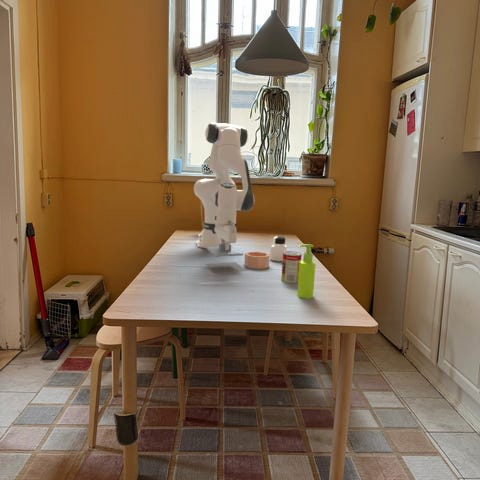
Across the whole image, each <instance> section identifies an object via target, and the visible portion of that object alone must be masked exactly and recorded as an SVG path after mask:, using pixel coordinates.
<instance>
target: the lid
mask: <svg viewBox="0 0 480 480" xmlns="http://www.w3.org/2000/svg"><path fill="white" fill-rule="evenodd" d="M224 246H225V244H219V247H217V248H206V249H207V251H208V252H209V253H211V254H212V256H213V257H239V256H241V257H242V256H244V253H243V252H241V251H240V250H238V249H237V248H236V247H234V246H232V243H230V245H229V250H225V249H224Z"/></svg>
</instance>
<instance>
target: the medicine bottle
mask: <svg viewBox="0 0 480 480" xmlns="http://www.w3.org/2000/svg"><path fill="white" fill-rule="evenodd" d="M285 251H288V246H287V245H286V237H284V236H282V235H281V236H280V235H279V236H274V237H273V244H272V245H271V246H270V252H269V253H270V254H269V255H270V259H269V261H276V262H283V252H285Z"/></svg>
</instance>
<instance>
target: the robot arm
mask: <svg viewBox="0 0 480 480" xmlns="http://www.w3.org/2000/svg"><path fill="white" fill-rule="evenodd" d="M204 134H205V135H204V136H205V139H206V141H207V142H208V143H210V144H212V146H211V152H210V156H209V164H208V167H209V170H210V171H211V172H213V174H215V178H202V179H198V180H196V182H195V183H194V185H193V192H194V194H195V196H196V197H197V198H198V199H199V200H200V202H201V201H202V203H203V205H204V210H205V222H204V225H203V228H204V229H203V230H201V232H200V233H199V234H197V239H198V240H196V241H195V243H196V244H195V245H197V248H202V249H203V248H204V249H208V248H217V247H219V244H225V246H224V249H225V250H229V245H230V244H236V243H237V235H238V234H237V227H236V225H235V224H236V223H237V211H241V212H246V213H247V212H249V211H252V209H253V208H254V206H255V196H254V191H253V189H252V187H253V186H252V182H251V175H250V169H249V165H248V162H247V160H246V159H245V158H244V157H243V155H242V153H241V148H242V147H244V146H246V144H247V142H248V140H249V133H248V130H247V128H246V127H244V126H241V125H240V126H238V125H235V124H230V123H218V122H210V123H208V125H207V127H206V129H205V133H204ZM230 170H232V171H234V172H236V173H238V174H239V176H240V177H241V182H242V189H237V185H236V183H235V182H234V180H233V179H232V177H231V175H230Z"/></svg>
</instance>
